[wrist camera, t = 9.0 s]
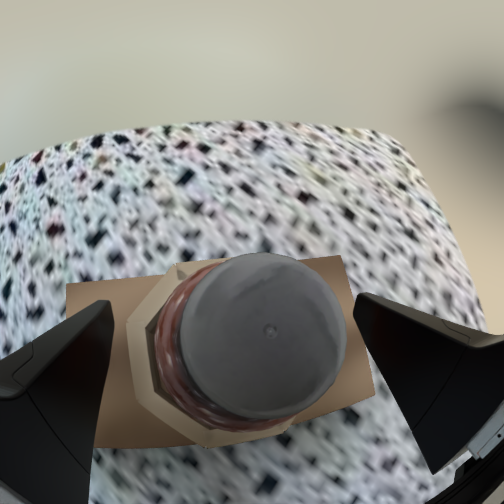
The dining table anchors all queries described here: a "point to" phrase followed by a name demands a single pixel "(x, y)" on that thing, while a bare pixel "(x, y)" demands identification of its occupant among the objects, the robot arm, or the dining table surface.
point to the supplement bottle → (250, 341)
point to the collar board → (149, 380)
